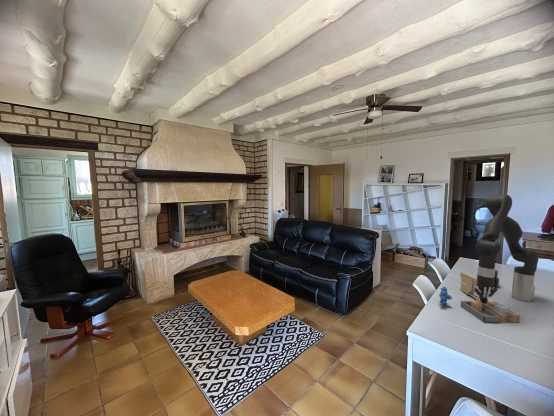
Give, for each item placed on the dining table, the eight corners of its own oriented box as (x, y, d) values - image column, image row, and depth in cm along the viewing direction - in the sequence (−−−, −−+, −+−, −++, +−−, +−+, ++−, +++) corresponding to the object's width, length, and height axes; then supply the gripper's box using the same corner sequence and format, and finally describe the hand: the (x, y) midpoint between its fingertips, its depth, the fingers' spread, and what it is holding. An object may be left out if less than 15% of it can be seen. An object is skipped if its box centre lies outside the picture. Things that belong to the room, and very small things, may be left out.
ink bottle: (492, 283, 174) (493, 268, 173) (502, 288, 165) (504, 272, 164) (478, 283, 175) (479, 267, 174) (487, 288, 166) (489, 272, 165)
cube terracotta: (475, 300, 138) (470, 300, 138) (482, 304, 133) (476, 304, 134) (475, 307, 138) (470, 307, 138) (481, 311, 134) (476, 311, 134)
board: (494, 308, 139) (495, 301, 139) (519, 322, 124) (519, 315, 124) (477, 307, 140) (477, 301, 140) (499, 322, 125) (500, 315, 125)
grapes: (450, 311, 136) (452, 291, 135) (437, 307, 140) (438, 288, 139) (452, 303, 145) (453, 285, 144) (439, 300, 149) (440, 282, 148)
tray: (474, 306, 141) (475, 301, 141) (500, 323, 124) (500, 316, 124) (460, 306, 142) (461, 300, 141) (483, 322, 125) (484, 316, 124)
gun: (488, 307, 140) (489, 282, 140) (482, 306, 141) (482, 282, 141) (464, 292, 164) (464, 271, 164) (459, 292, 165) (459, 271, 164)
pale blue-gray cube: (501, 309, 131) (502, 304, 130) (509, 313, 126) (509, 308, 126) (493, 309, 131) (493, 303, 131) (500, 313, 126) (501, 308, 126)
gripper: (492, 272, 137) (489, 300, 139) (468, 271, 138) (466, 299, 140) (503, 277, 130) (501, 306, 131) (479, 276, 131) (476, 306, 132)
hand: (483, 302), depth 136 cm, fingers closed
